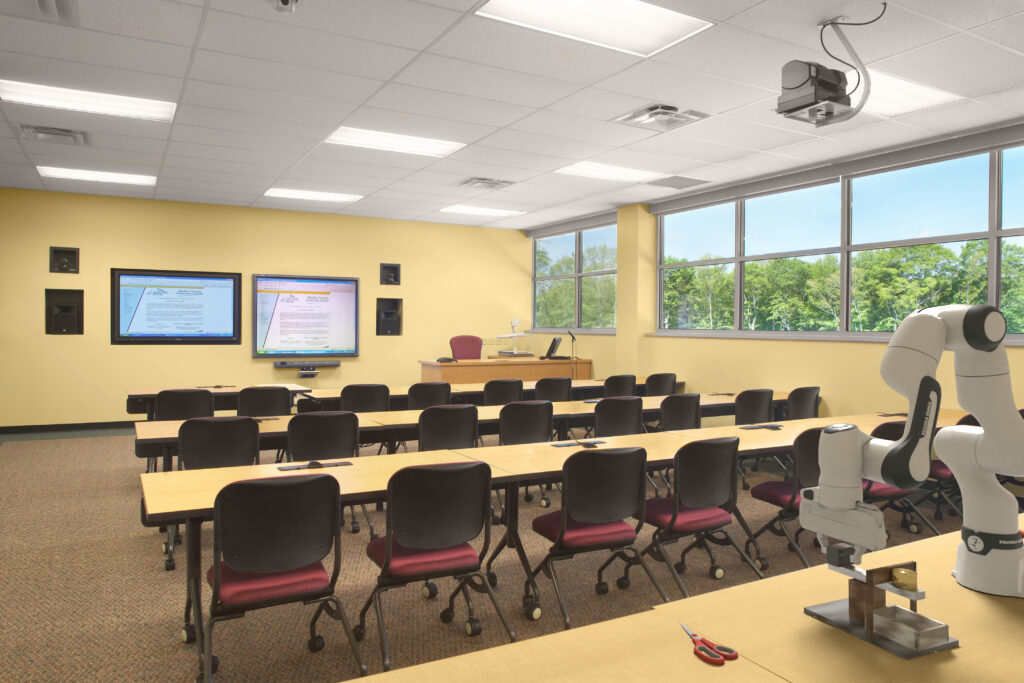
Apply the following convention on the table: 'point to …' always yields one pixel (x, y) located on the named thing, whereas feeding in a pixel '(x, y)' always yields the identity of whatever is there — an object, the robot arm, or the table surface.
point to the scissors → (710, 649)
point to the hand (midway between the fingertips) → (840, 558)
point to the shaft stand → (884, 617)
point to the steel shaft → (861, 570)
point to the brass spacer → (904, 579)
